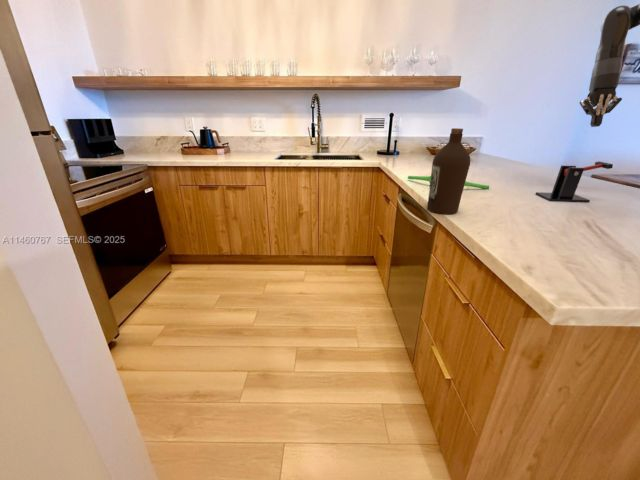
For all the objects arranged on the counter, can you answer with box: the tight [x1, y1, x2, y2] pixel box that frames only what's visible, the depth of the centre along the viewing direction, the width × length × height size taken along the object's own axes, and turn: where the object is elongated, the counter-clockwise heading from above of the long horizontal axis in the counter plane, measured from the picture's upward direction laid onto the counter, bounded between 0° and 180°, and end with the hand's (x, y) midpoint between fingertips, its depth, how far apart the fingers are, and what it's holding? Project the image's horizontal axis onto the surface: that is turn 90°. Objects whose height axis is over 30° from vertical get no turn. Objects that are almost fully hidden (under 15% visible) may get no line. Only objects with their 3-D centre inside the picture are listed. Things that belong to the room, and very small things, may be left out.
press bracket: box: [534, 165, 591, 204], centre depth 103 cm, size 13×9×12 cm
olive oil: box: [426, 127, 471, 215], centre depth 89 cm, size 11×11×25 cm
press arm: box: [564, 161, 613, 176], centre depth 100 cm, size 12×6×2 cm, turn 83°
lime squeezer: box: [407, 175, 490, 190], centre depth 121 cm, size 34×12×6 cm, turn 59°
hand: (595, 126), depth 106 cm, fingers closed
